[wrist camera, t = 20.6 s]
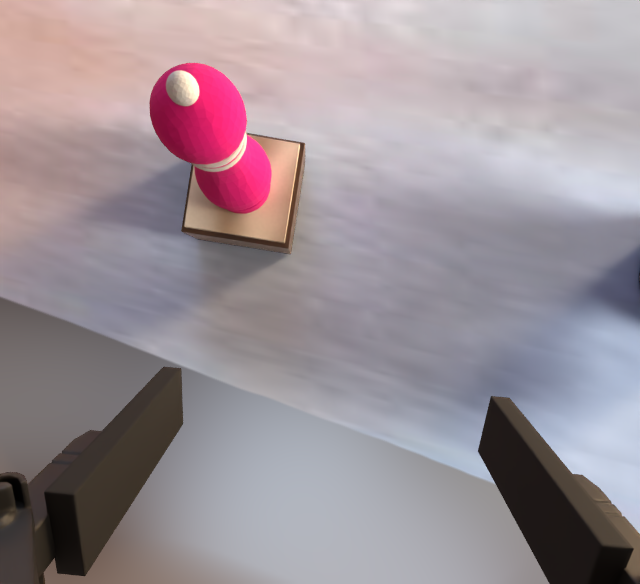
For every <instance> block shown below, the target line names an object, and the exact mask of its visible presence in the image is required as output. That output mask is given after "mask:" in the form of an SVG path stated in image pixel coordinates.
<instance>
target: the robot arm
mask: <svg viewBox="0 0 640 584" xmlns="http://www.w3.org/2000/svg"><path fill="white" fill-rule="evenodd" d="M639 281H640V275H639ZM182 425H183V407H182V377H181V368H171V367H163V368H162V369H161V370H160V371H159V372H158V373H157V374H156V375H155V376H154V377H153V378H152V379H151V380H150V382H148V383H147V385H146V386H145V387H144V388H143V389H142V390H141V391H140V392H139V393H138V394H137V395H136V396H135V397H134V398H133V399H132V400H131V401H130V402H129V403H128V404H127V405H126V406H125V408H124V409H123V410H122V411H121V412H120V413H119V414H118V415H117V416H116V417H115V418H114V419H113V420H112V421H111V422H110V423H109V424H108V425H107V426H106V427H105V428H104V429H103V431H94V430H90V431H88V432H86V433H85V434H83V435H81V436H79V437H78V438H76V439H74V440H73V441H72V442H71V443H70V444H69V445H68V446H67V447H66V448H65V449H64V450H63V451H62V453H60V454H59V455H58V456H56V457H55V458H54V459H53V460H52V463H50V464H48V465H47V466H46V467H45V468H44V469H43V470H42V471H41V472H40V473H39V474H38V475H37V476H36V477H35V478H34V479H33V480H32V481H31V482H30V483H29V484H27V480H26V478H25V476H24V475H22V474H20V473H17V472H16V473H15V472H14V473H13V472H12V473H11V472H6V473H2V474H0V584H45V578H44V573H43V572H44V571H45V569H46V568H47V567H48V566H49V564H50V563H51V562H52V560H53V559H54V558H55V561H56V568H57V573H59V574H69V575H79V576H85V575H86V574H87V572H88V571H89V569H90V568H91V566H92V565H93V563H94V562H95V560H96V558H97V557H98V555H99V554H100V552H101V550H102V549H103V547H104V546H105V544H106V543H107V541H108V540H109V538H110V536H111V535H112V534H113V532H114V530H115V529H116V527H117V526H118V524H119V523H120V521H121V520H122V518H123V516H124V515H125V513H126V512H127V510H128V509H129V507H130V506H131V504H132V502H133V501H134V499H135V498H136V496H137V495H138V493H139V491H140V490H141V488H142V487H143V485H144V484H145V482H146V481H147V479H148V478H149V476H150V474H151V473H152V471H153V470H154V468H155V467H156V465H157V464H158V462H159V460H160V459H161V457H162V456H163V454H164V453H165V451H166V450H167V448H168V446H169V445H170V443H171V442H172V440H173V439H174V437H175V436H176V434H177V432H178V431H179V429H180V428H181V426H182ZM478 452H479V454H480V456H481V458H482V459H483V461H484V463H485V465H486V467H487V469H488V471H489V472H490V474H491V476H492V478H493V480H494V482H495V484H496V485H497V487H498V489H499V491H500V493H501V495H502V496H503V498H504V500H505V502H506V504H507V506H508V508H509V509H510V511H511V513H512V515H513V517H514V518H515V521H516V522H517V524H518V526H519V528H520V530H521V531H522V533H523V535H524V537H525V539H526V541H527V543H528V544H529V546H530V548H531V550H532V552H533V554H534V556H535V558H536V559H537V561H538V563H539V565H540V567H541V569H542V570H543V572H544V574H545V576H546V578H547V580H548V582H549V583H550V584H640V534H639V533H638V532H637V531H636V529H635V528H634V527H633V526H632V525H631V524H630V523H629V521H628V520H627V519H626V518H625V517H624V516H622V513H621V512H620V511H619V510H618V509H617V508H616V507H615V505H613V504H611V501H610V500H609V499H608V497H607V496H606V495H605V494H604V493H603V492H602V491H601V489H600V488H599V487H597V486H596V485H595V484H593V483H592V482H591V481H589V480H588V479H587V478H585V477H584V476H583V475H578V474H572V473H571V472H570V471H569V469H568V468H567V467H566V466H565V465H564V463H563V462H562V461H561V460H560V459H559V457H558V456H557V455H556V454H555V452H554V451H553V450H552V449H551V448H550V446H549V445H548V444H547V443H546V442H545V440H544V439H543V438H542V437H541V436H540V434H539V433H538V432H537V431H536V429H535V428H534V427H533V426H532V425H531V423H530V422H529V421H528V420H527V419H526V417H525V416H524V415H523V414H522V413H521V411H520V410H519V409H518V408H517V406H516V405H515V404H514V403H513V402H512V400H511V399H510V398H506V397H495V396H491V398H490V403H489V407H488V411H487V415H486V419H485V424H484V428H483V432H482V436H481V441H480V445H479V449H478Z"/></svg>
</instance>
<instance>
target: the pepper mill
mask: <svg viewBox="0 0 640 584" xmlns="http://www.w3.org/2000/svg"><path fill="white" fill-rule="evenodd" d="M150 117H151V121H152V125H153V127H154V129H155V132H156V134H157V135H158V137H159V139H160V140H161V142H162V143H163V144H164V145H165V146H166V147H167V149H168V150H169V151H170V152H171V153H173V154H174V155H176V156H177V157H178V158H180V159H182V160H185V161H187V162H189V163H191V164H192V165H194V169H195V176H196V180H197V183H198V185H199V187H200V189H201V191H202V192H203V194H204V195H205V196H206V198H207V199H208V200H210V201H211V202H212V203H213V204H215V205H216V206H218V207H221V208H223V209H227V210H229V211H231V212H234V213H239V214H246V213H250V212H253V211H255V210H257V209H258V208H260V207H261V206H262V205H263V204H264V203H265V201H266V200H267V198H268V196H269V193H270V186H271V184H270V183H271V177H272V170H271V164H270V161H269V159H268V157H267V155H266V153H265V151H264V150H263V148H262V147H261V145H260V144H259V143H258V142H257V141H255V140H254V139H252V138H251V137H250V136H248V135H246V123H247V118H246V111H245V107H244V103H243V100H242V98H241V96H240V94H239V92H238V90H237V89H236V87H235V86H234V85H233V83H232V82H231V81H230V80H229V79H228V78H227V77H226V76H225V75H224V74H223V73H221V72H219V71H218V70H216V69H214V68H213V67H210V66H207V65H204V64H199V63H186V64H181V65H178V66H175V67H173V68H171V69H170V70H168V71H167V72H165V73H164V74H163V75H162V76H161V77H160V78H159V79H158V81H157V82H156V84H155V86H154V87H153V90H152V93H151V97H150Z"/></svg>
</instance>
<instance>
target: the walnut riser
mask: <svg viewBox="0 0 640 584" xmlns="http://www.w3.org/2000/svg"><path fill="white" fill-rule="evenodd" d="M246 135H248V136H250V137H251V138H252V139H254V140H255V141H257V142H258V143H259V144H260V145H261V147H262V148H263V150H264V151H265V153H266V155H267V157H268V159H269V161H270V164H271V170H272V177H271V183H270V184H271V186H270V193H269V196H268V198H267V200H266V201H265V203H264V204H263V205H262V206H261V207H260V208H258V209H257V210H255V211H253V212H250V213H246V214H239V213H234V212H231V211H229V210H227V209H223V208H221V207H218V206H216V205H215V204H213V203H212V202H211V201H210V200H208V199H207V198H206V196H205V195H204V194H203V192H202V191H201V189H200V187H199V185H198V183H197V180H196V176H195V169H194V165H192V166H191V173H190V179H189V185H188V192H187V198H186V205H185V211H184V218H183V224H182V230H181V231H182V232H184V233H186V234H188V235H190V236H192V237H194V238H196V239H200V240H206V241H212V242H218V243H225V244H231V245H237V246H243V247H250V248H256V249H262V250H268V251H275V252H281V253H287V254H291V249H292V243H293V237H294V230H295V224H296V217H297V211H298V205H299V198H300V192H301V185H302V179H303V173H304V166H305V143H302V142H296V141H290V140H284V139H278V138H273V137H267V136H261V135H255V134H250V133H246Z"/></svg>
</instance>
